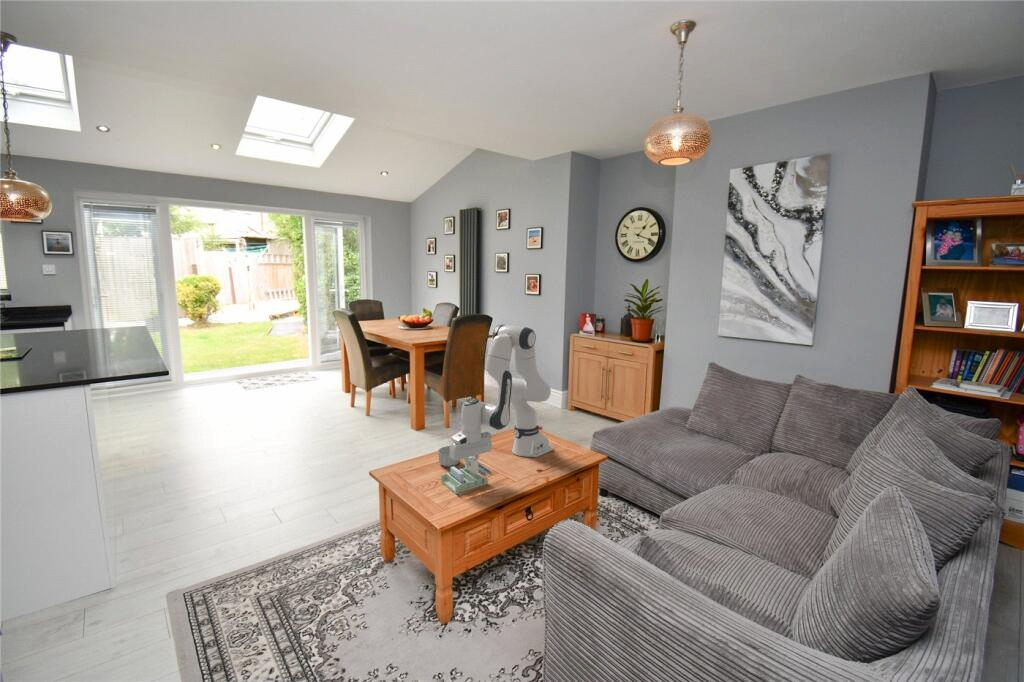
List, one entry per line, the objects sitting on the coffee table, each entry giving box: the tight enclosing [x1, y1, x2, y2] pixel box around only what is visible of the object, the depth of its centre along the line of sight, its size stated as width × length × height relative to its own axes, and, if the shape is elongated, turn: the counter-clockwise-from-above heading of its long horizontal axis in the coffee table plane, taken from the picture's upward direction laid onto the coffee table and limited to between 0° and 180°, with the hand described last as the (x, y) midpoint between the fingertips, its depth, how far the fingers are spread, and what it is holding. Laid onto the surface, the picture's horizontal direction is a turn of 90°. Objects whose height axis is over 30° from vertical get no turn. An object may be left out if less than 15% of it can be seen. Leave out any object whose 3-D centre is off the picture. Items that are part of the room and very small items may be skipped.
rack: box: [440, 466, 489, 495], centre depth 203 cm, size 16×14×7 cm
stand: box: [478, 461, 492, 476], centre depth 217 cm, size 5×13×2 cm, turn 35°
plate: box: [464, 456, 480, 474], centre depth 204 cm, size 2×9×6 cm, turn 35°
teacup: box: [437, 445, 461, 468], centre depth 224 cm, size 14×11×8 cm
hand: (471, 464), depth 204 cm, fingers closed on plate, 2 cm apart
